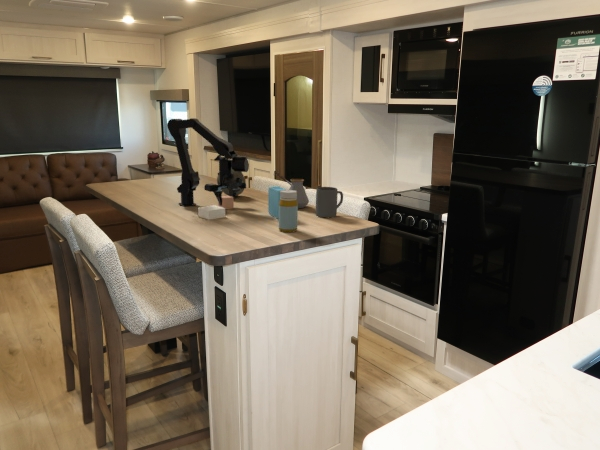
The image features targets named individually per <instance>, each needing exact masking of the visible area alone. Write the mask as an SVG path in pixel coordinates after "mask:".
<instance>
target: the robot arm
mask: <svg viewBox="0 0 600 450" xmlns="http://www.w3.org/2000/svg"><path fill="white" fill-rule="evenodd" d="M166 126H167V130H168V131H169V132H168V133H169V134H170V136H171V137H172V138H173V140H174V143H175V146H176V152H177V156H178V159H179V163H180V166H181V167H180V168H181V175H180V176H181V177H180V178H181V183H180V184H179V186H178V187H177V188H176V189H177V193H178V194H180V202H178V203H177V204H178V205H180V206H182V207H187V206H188V207H190V206H197V205H198V203H196V202H195V201H194V191H196V190H197V188H198V186H199V185H200V180H201V178H200V176H199V175H200V174H199V171H195V170H194V169H193V165H192V161H191V157H190V152H189V149H188V145H187V140H186V133H187V129H190V128H191V129H193V130H194V131H195V132H196V133H197V134H199V136H200V137H202V138H204V140H206V142H208V143H209V144H210V145H211V146H212V148H213V150H214V151H215V152H216V153H217V154H218V155H217V156H216V157H215V158H214V159H213V160H214V161H217V162H218V172H217V176H218V175H219V182H218V184H219V185H218V184H216V183H205V184H204V187H203V188H204V191H207V192H210V193H211V192H212V193H213V194H214V196H215V197H216V200H217V202H218V205H219V204H220V206H222V196H223V195H222V194H223V191H221V189H223V188H228V189H229V196H231V197H233V198H234V199H235V195H236V193H237V192H238V191H240V189H244V190H245V189H247V183H246V181H245V182H242V178H241V177H239V178H234V175H233V173H232V170H234V171H237V172H242V173H248V171H249V167H250V163H249V159H248V157H247V156H246V155H245V156H238V154H237V152H236V151H235V150H234V146H233V144H232V143H231V142H229V141H227V140H225V139H224V138H220V137H219V136H218V135H216V134H215V133H214V132H213V131H211V130H210V129H209V128H208V127H207V126H205V125H204V124H203V123H202V122H201V121H200V120H199V119H198V118H189V119H182V118H171V119H169V120H168V121H167V124H166ZM239 188H240V189H239Z"/></svg>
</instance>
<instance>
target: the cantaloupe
mask: <svg viewBox="0 0 600 450" xmlns="http://www.w3.org/2000/svg"><path fill="white" fill-rule="evenodd" d="M232 173H233V175H234V178H239V177H241V178H242V182H245V183H246V178H245V175H244V174H243V172H237V171H234V170H232ZM218 182H219V175H218V174H217V176H216V183H217V185H219V184H218ZM239 189H240V188H239ZM221 191H223V192H222V194H224V195H225V196H229V189H228V188H223V189H221ZM244 191H245V189H240V191H238V192H237V193H236V195H235V197H238V196H239V195H241V194H243V192H244ZM235 197H234V198H235Z"/></svg>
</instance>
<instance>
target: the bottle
mask: <svg viewBox="0 0 600 450" xmlns="http://www.w3.org/2000/svg"><path fill="white" fill-rule="evenodd" d="M296 197H297V191H295V190H289V189H286V190H281V191H280V202H279V219H278V230H279V232H282V231H283V233H294V232H293V231H295V232H296V231H297V230H298V215H299V214H298V213H299V212H298V211H299V210H298V209H299V208H298V203H297V200H296V199H297V198H296Z"/></svg>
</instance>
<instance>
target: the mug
mask: <svg viewBox="0 0 600 450" xmlns="http://www.w3.org/2000/svg"><path fill="white" fill-rule="evenodd" d="M315 192H316V193H315V216H316V217H317V216H318V217H317V218H321V217H326V218H325V219H329V218H328V217H334V218H336V217H337V211H338V209H339V208H340V207H341V205H342V203H343V201H344V193H343V191H341V190H338V188H337V187H334V186H333V187H332V186H319V187H316V191H315ZM338 195H340V200H339V202H338ZM335 216H336V217H335Z"/></svg>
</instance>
